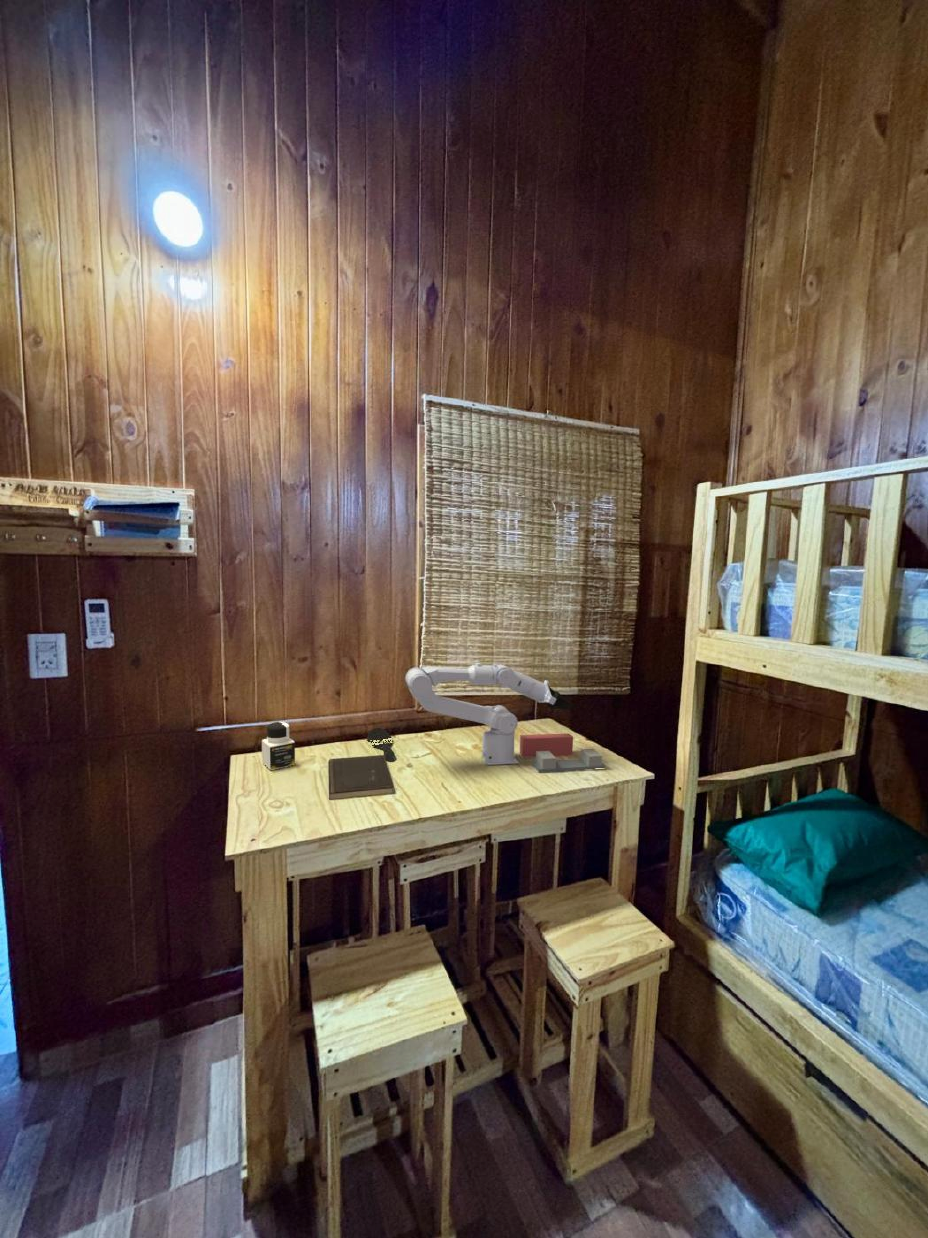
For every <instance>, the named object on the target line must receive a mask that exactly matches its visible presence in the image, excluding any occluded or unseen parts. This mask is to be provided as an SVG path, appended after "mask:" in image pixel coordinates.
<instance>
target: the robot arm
mask: <svg viewBox="0 0 928 1238" xmlns="http://www.w3.org/2000/svg"><path fill="white" fill-rule="evenodd" d="M450 681H451V682H452V681H453V682H454V681H468V682H469V683H470V684H471V685H472V686H473V685H477V686H478V685H480V686H481V685H482V686H489V685H490V686H493V685H499V686H500V687H501V688H503V689H504V688H508V689H510V690H512V691H513V692H515V693H518V694H521V695H523V696H525V697H527V698H530V699H532V700H534V701H536V702H537V703H539V704H540V703H541V704H542V703H548V704H547V706H546V707H547V708H548V709H549V710H564V711H571V709H572V707H573V705H574V704H573V703H572V702H570V701H569V700H568V699H566V698H564V697H563V695H561V693H560V692H559V691H557V690H554V689H553V688H551V687H550V686H549V684H550V681H549V680H546V679H545V680H544V681H543V682H542V681H540V680H537V679H535V678H533V677H531V676H528V675H525V674H524V673H521V672H518V671H516V670H513V669H512V668H511V667H508V666H506V665H504V664H502V663H501V664H500V663H492V665H491V664H490V665H487V664H486V665H485V664H484V665H483V664H482V663H480V662H476V663H475V664H472V665H471V666H469V667H468V668H458V667H457V668H454V667H440V666H422V667H413V668H412V667H411V668H410V669H409V670H408V671H407V672H406V674H405V683H406V686H407V688H408V690H409V691H410V694H411V695H412V697H413V698H414V700H415V701H416V702H418V704H419V705H420V706H421V707H422V708H423V709H424V711H426V712H428V713H429V712H430V713H435V714H439V715H444V716H448V717H453V718H456V719H461V720H462V719H463V720H466V721H469V722H470V721H471V722H475V723H478V724H479V723H481V724H484V725H485V726H488V727H490V730H486V731H482V735H481V737H482V739H481V741H482V743H481V757H482V759H483V762H485V764H486V765H487V766H493V765H494V766H495V765H514V764H515V765H516V764H519V761H518V759H516V757H515V730H516V729H517V728H518V724H519V722H518V718H517V717H516V715H515V714H513V713H512V712H511V711H509V710H508V708H506V707H505V706H504V705H501V704H498V705H494V706H491V705H480V704H476V703H472V702H467V701H463V700H459V699H458V700H457V699H454V698H450V697H447V696H446V697H445V696H441V695H437V694H436V693H435V691H434V690H433V689H434V688H435V687H437V686H438V685H439V684H440V683H441V682H450ZM433 687H434V688H433Z"/></svg>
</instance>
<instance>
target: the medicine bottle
mask: <svg viewBox="0 0 928 1238" xmlns="http://www.w3.org/2000/svg"><path fill="white" fill-rule="evenodd" d="M261 762H262V763H261V764H263V765H264V766H265V765H266V766H267V767H268V768H267V767H266V766H265V767H266V768H267V769H268V770H269V769H270V770H269V771H271V770H272V771H275V769H276V770H279V769H278V768H280V769H283V768H282V767H285V768H287V767H286V766H289V767H292V766H291V765H293V766H296V742H295V740H293V739H292V738H290V725H289V723H287V722H284V721H277V722H272V723H269V724H268V725H267V726H266V738H263V739H262V740H261Z"/></svg>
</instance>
